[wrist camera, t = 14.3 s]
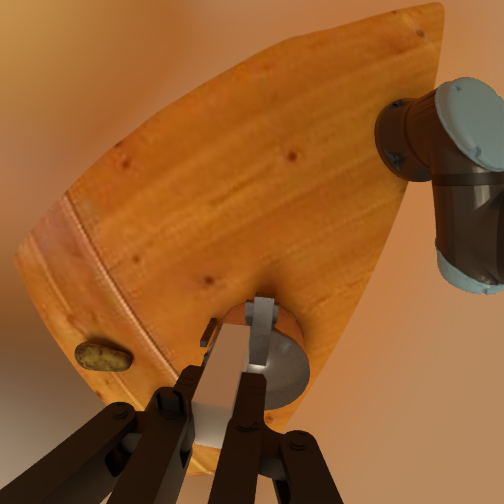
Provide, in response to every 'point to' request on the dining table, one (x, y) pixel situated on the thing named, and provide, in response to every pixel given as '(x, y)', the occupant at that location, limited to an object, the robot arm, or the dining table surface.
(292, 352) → the lid
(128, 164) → the dining table surface
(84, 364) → the potato
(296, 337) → the pot
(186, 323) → the dining table surface
